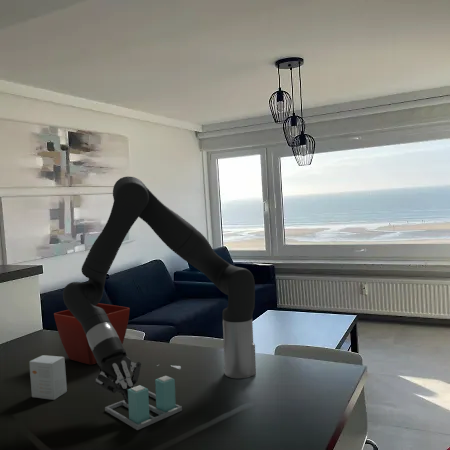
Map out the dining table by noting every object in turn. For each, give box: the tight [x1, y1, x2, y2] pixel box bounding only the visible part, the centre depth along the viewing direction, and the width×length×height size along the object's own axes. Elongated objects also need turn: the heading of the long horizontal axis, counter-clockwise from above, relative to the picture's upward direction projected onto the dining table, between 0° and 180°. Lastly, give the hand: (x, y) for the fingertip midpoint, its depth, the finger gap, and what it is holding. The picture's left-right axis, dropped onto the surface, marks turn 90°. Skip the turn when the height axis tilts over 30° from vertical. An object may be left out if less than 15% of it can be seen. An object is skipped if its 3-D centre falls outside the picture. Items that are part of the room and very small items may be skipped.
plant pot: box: [53, 302, 131, 366], centre depth 161 cm, size 19×19×17 cm
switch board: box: [104, 390, 183, 431], centre depth 116 cm, size 15×14×2 cm
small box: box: [29, 354, 68, 401], centre depth 130 cm, size 8×6×10 cm
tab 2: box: [154, 375, 177, 413], centre depth 115 cm, size 4×4×8 cm
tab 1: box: [128, 384, 150, 424], centre depth 110 cm, size 4×4×8 cm
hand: (133, 403), depth 111 cm, fingers closed
